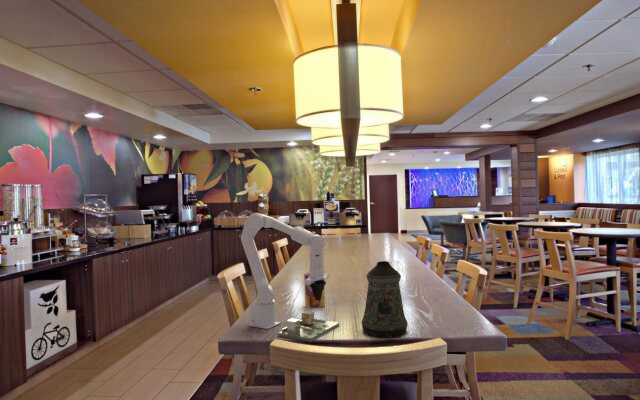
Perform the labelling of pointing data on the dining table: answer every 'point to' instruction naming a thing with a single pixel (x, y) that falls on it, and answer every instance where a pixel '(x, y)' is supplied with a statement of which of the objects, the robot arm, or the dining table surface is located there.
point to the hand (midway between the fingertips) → (317, 299)
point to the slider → (309, 318)
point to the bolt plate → (310, 331)
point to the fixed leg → (295, 326)
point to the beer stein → (384, 304)
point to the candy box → (309, 295)
